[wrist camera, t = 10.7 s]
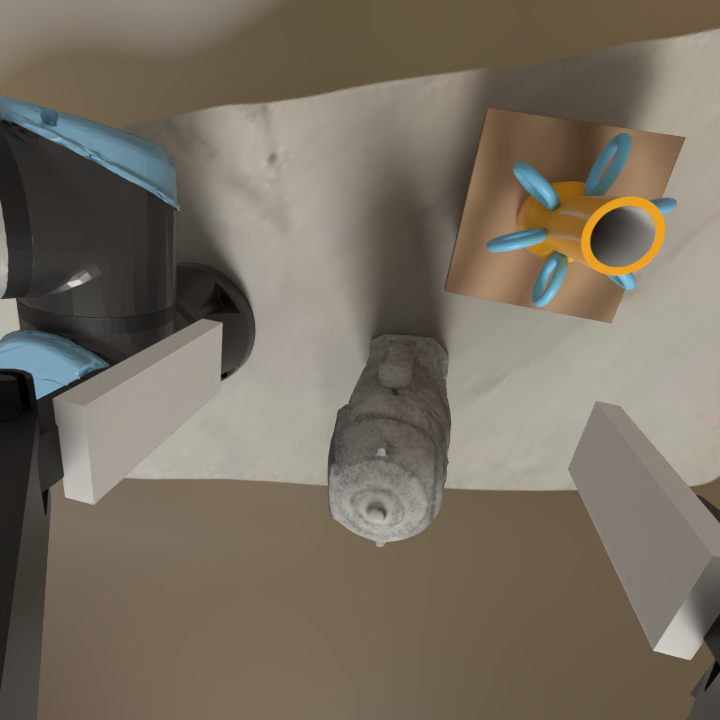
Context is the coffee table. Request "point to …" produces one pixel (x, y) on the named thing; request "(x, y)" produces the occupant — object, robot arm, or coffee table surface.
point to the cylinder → (586, 224)
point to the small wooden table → (506, 194)
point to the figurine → (392, 441)
